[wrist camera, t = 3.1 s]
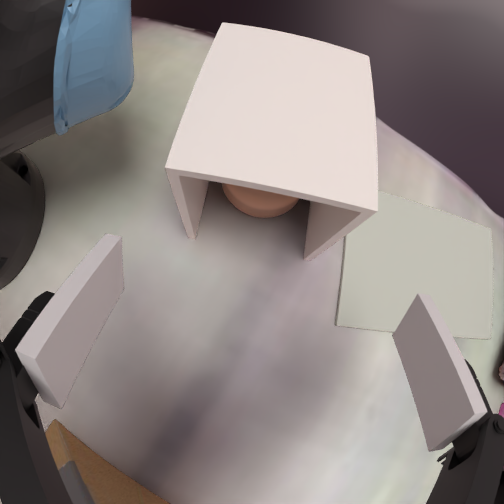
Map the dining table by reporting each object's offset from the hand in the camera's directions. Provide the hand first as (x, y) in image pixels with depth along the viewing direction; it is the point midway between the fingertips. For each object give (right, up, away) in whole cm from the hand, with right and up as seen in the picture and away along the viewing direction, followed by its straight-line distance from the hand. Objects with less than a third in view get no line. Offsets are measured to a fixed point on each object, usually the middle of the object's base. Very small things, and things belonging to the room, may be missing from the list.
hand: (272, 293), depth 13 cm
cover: (0, +8, +14) cm, 16 cm away
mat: (+17, 0, +14) cm, 22 cm away
